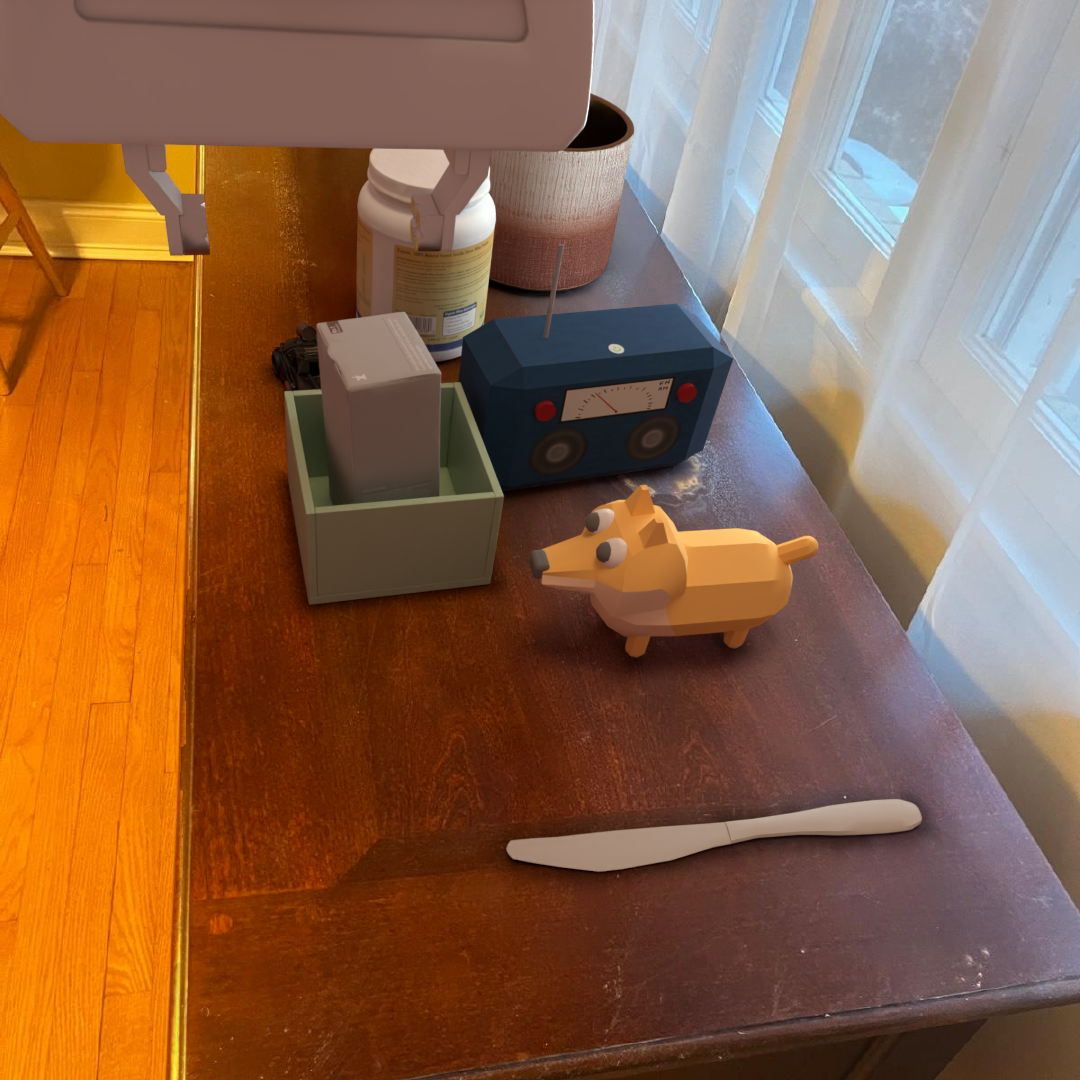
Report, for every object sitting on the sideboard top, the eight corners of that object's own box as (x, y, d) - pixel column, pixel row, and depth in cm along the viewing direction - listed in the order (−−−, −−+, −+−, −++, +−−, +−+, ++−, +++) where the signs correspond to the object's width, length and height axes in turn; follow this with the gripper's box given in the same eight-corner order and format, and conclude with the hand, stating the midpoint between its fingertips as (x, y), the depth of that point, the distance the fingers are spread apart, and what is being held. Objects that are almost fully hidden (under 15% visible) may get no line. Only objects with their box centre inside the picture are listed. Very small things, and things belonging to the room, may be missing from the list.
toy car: (335, 350, 91) (335, 309, 88) (370, 430, 84) (371, 388, 81) (268, 357, 89) (265, 315, 86) (297, 439, 82) (295, 396, 79)
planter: (473, 303, 101) (489, 151, 90) (430, 219, 112) (440, 76, 101) (630, 295, 106) (664, 151, 96) (574, 216, 118) (598, 80, 107)
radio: (481, 507, 79) (512, 285, 65) (448, 439, 84) (470, 221, 71) (706, 471, 86) (777, 265, 73) (662, 411, 92) (720, 209, 78)
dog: (505, 602, 72) (528, 467, 63) (754, 583, 77) (809, 456, 68) (528, 688, 67) (557, 554, 58) (794, 662, 72) (859, 535, 63)
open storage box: (308, 605, 69) (306, 514, 63) (288, 481, 78) (284, 390, 72) (490, 584, 73) (504, 496, 67) (451, 468, 82) (460, 381, 76)
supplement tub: (506, 332, 98) (529, 165, 86) (430, 384, 90) (445, 208, 78) (409, 284, 102) (419, 118, 90) (328, 329, 94) (327, 154, 82)
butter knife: (933, 838, 62) (914, 794, 64) (510, 878, 56) (503, 829, 58) (929, 842, 62) (910, 799, 64) (509, 882, 57) (502, 834, 59)
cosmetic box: (440, 550, 74) (457, 375, 63) (346, 569, 71) (347, 389, 60) (405, 478, 79) (416, 305, 68) (316, 492, 76) (312, 315, 65)
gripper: (595, -159, 35) (540, 209, 44) (-57, -236, 29) (41, 209, 38) (658, -112, 31) (583, 282, 40) (-88, -191, 25) (31, 295, 34)
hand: (314, 247), depth 39 cm, fingers open, 8 cm apart
